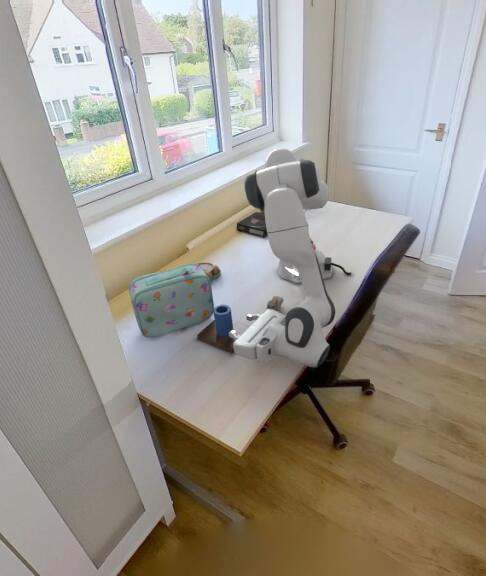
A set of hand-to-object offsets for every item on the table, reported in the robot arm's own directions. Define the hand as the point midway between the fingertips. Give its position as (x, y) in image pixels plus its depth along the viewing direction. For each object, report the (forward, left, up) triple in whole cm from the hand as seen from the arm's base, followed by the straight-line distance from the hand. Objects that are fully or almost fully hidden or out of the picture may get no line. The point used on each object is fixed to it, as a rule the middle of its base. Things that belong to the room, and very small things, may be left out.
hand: (239, 324), depth 124 cm
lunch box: (+22, -12, -8) cm, 26 cm away
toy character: (-12, -15, -8) cm, 21 cm away
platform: (+5, -3, -7) cm, 10 cm away
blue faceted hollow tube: (+5, -3, -5) cm, 8 cm away
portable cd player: (-9, -85, -8) cm, 86 cm away
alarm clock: (+15, -41, -8) cm, 45 cm away
